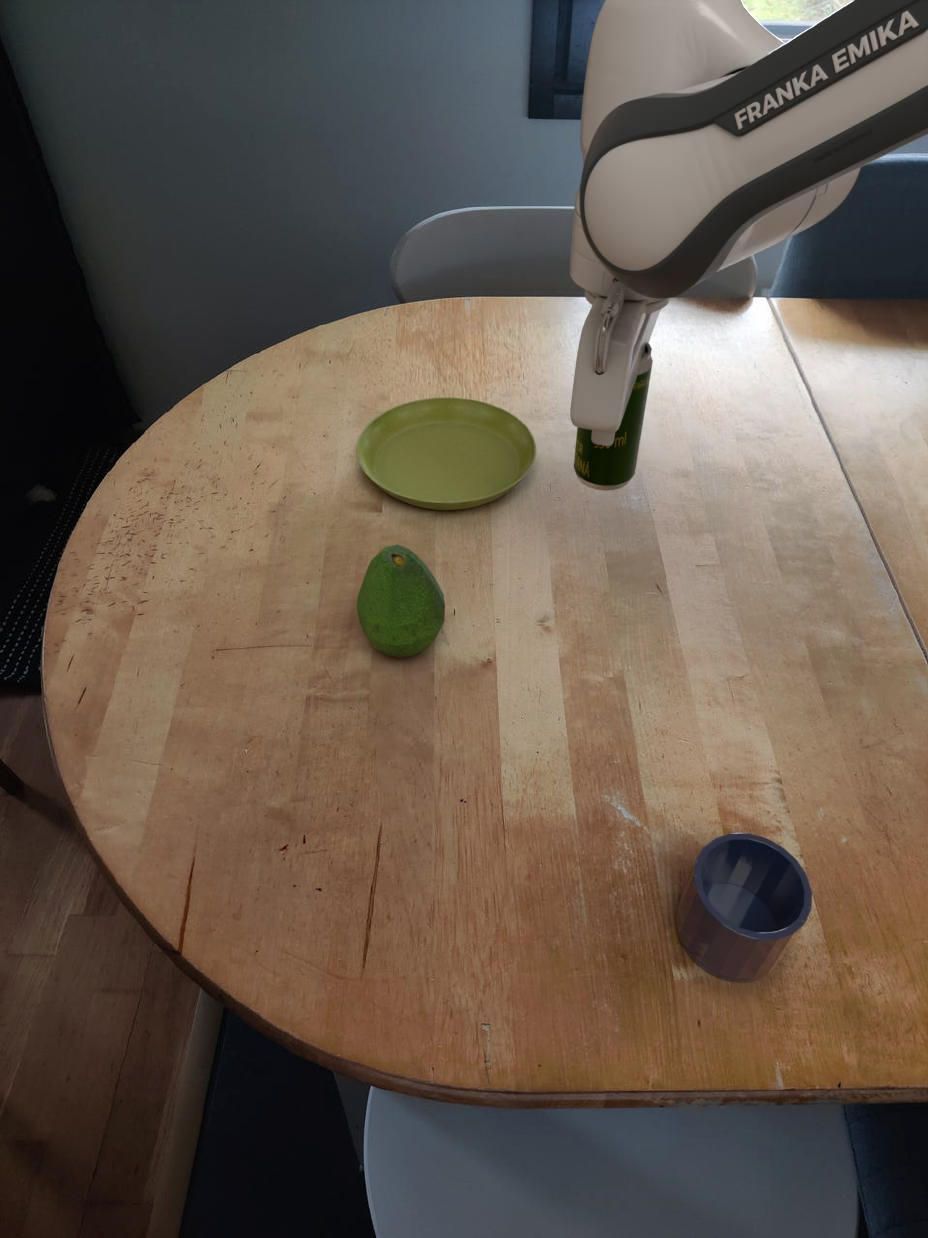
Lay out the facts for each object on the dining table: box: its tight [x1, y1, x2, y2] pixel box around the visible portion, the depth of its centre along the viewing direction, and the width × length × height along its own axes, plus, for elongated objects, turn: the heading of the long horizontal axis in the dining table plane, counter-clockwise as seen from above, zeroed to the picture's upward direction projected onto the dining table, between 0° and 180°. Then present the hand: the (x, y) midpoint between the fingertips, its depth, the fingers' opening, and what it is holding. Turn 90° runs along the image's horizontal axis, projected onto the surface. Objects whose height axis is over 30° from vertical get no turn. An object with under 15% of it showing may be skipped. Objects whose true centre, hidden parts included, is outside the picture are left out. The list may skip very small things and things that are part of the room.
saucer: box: [355, 396, 537, 511], centre depth 100 cm, size 21×21×3 cm
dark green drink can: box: [573, 342, 654, 492], centre depth 71 cm, size 5×5×12 cm
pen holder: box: [675, 832, 813, 983], centre depth 59 cm, size 8×8×7 cm
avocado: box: [356, 544, 446, 659], centre depth 77 cm, size 8×8×12 cm
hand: (611, 418), depth 71 cm, fingers closed on dark green drink can, 5 cm apart
